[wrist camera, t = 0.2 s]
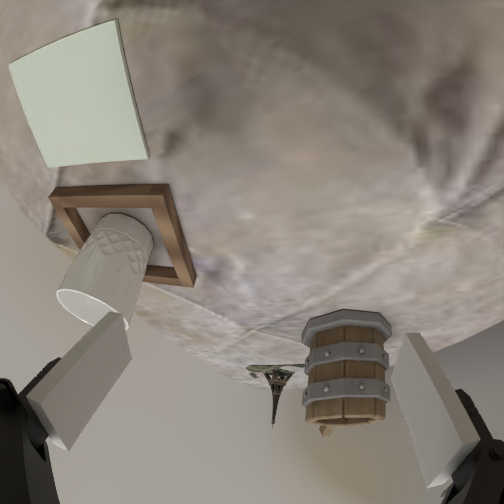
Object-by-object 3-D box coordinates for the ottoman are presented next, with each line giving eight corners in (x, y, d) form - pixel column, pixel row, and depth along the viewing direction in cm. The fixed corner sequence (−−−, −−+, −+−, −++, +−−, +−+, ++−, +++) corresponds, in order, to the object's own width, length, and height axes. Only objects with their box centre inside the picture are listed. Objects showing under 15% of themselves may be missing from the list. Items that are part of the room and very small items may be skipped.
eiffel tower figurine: (307, 361, 56) (303, 426, 48) (317, 375, 63) (313, 431, 55) (238, 362, 61) (228, 422, 53) (255, 376, 68) (248, 428, 60)
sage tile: (11, 63, 15) (8, 65, 15) (117, 18, 14) (114, 20, 14) (50, 165, 24) (48, 167, 24) (149, 156, 23) (148, 159, 23)
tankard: (315, 305, 38) (309, 422, 28) (402, 313, 37) (409, 420, 28) (290, 356, 53) (282, 435, 44) (354, 361, 53) (352, 437, 44)
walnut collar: (55, 188, 27) (48, 197, 26) (168, 184, 25) (162, 195, 24) (101, 266, 38) (97, 275, 37) (196, 277, 36) (193, 287, 35)
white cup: (163, 222, 29) (128, 310, 23) (155, 264, 35) (129, 339, 29) (94, 199, 28) (48, 278, 21) (97, 243, 34) (64, 314, 27)
